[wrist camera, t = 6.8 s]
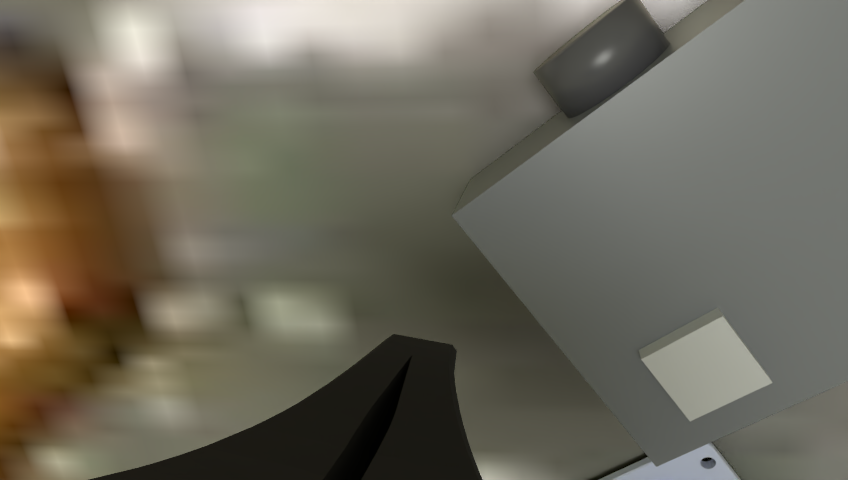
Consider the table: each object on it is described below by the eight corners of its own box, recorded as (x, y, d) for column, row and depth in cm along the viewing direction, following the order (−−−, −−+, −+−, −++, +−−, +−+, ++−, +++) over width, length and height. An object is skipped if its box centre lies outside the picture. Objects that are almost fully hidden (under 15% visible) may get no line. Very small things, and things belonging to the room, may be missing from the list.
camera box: (965, 223, 17) (1095, 287, 13) (638, 390, 21) (659, 478, 17) (752, -108, 16) (824, -154, 11) (440, 142, 20) (411, 175, 16)
